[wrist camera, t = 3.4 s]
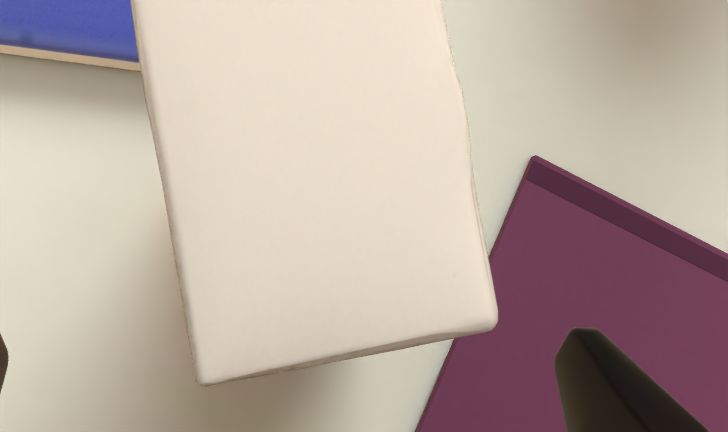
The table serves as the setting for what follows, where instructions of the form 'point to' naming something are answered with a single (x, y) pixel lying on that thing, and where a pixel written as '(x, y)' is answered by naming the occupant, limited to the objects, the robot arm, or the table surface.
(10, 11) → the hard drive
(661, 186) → the table surface
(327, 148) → the cosmetic box
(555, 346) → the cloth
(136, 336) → the table surface
